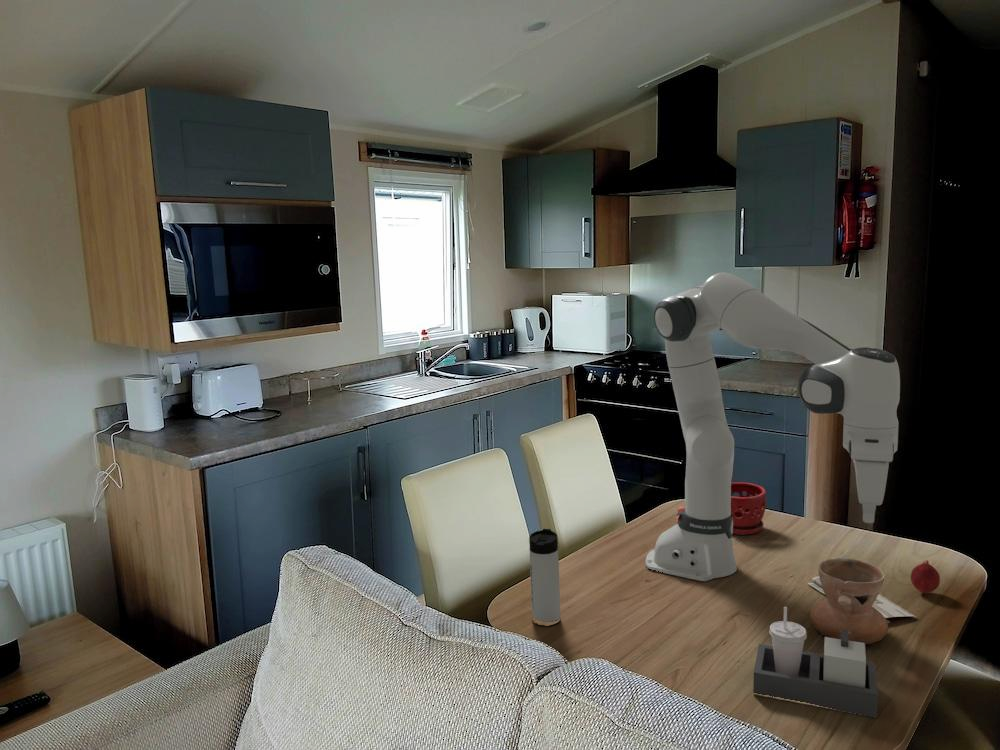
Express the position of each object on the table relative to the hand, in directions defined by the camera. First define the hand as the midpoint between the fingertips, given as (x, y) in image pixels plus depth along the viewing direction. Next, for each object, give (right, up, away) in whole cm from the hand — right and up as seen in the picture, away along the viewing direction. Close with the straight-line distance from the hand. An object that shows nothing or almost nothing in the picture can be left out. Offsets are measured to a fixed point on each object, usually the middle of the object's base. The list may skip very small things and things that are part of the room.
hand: (867, 512), depth 137 cm
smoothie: (-14, -31, +2) cm, 34 cm away
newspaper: (+14, -27, +32) cm, 44 cm away
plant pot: (+1, -19, +76) cm, 79 cm away
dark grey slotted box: (-9, -32, +2) cm, 33 cm away
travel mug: (-57, -29, +30) cm, 70 cm away
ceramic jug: (+5, -28, +19) cm, 34 cm away
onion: (+29, -25, +34) cm, 51 cm away
